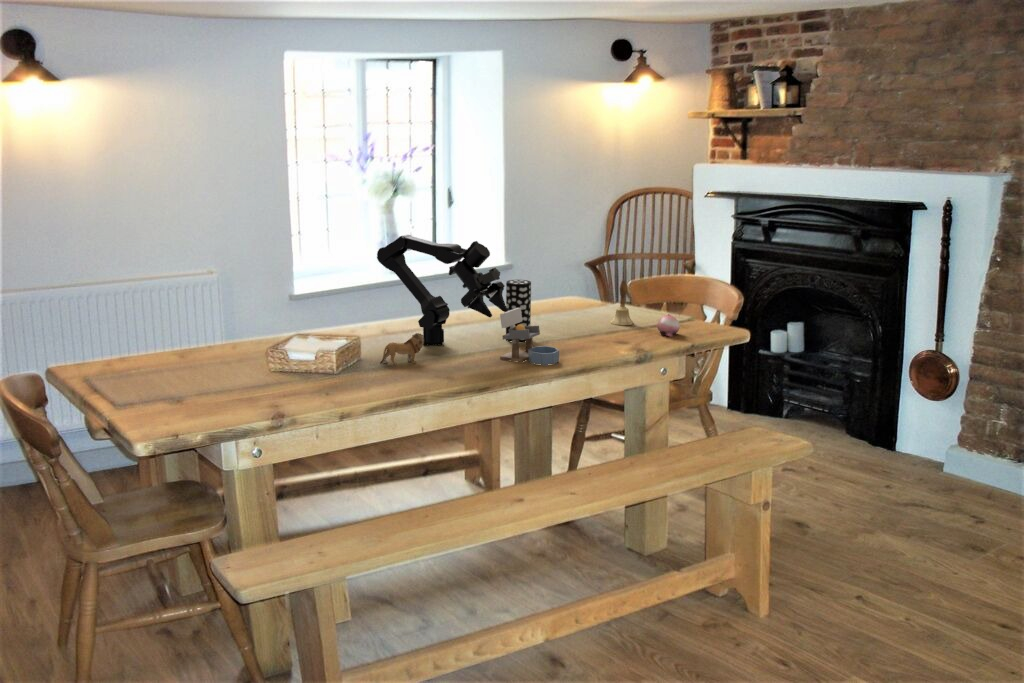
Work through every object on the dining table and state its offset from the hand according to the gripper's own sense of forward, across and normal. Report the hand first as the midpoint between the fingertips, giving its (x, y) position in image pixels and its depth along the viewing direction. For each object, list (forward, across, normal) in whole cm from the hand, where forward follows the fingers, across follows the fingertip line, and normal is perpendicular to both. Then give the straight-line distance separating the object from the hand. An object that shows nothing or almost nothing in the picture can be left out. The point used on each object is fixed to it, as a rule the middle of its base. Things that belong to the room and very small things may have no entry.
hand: (498, 314), depth 347 cm
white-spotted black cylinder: (+6, +20, +13) cm, 24 cm away
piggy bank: (+35, +54, -16) cm, 67 cm away
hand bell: (+20, +62, -1) cm, 65 cm away
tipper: (+11, 0, -2) cm, 11 cm away
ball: (+8, 0, -3) cm, 9 cm away
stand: (+15, 0, +4) cm, 15 cm away
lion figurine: (-5, -24, +24) cm, 34 cm away
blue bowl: (+21, 0, -2) cm, 21 cm away
